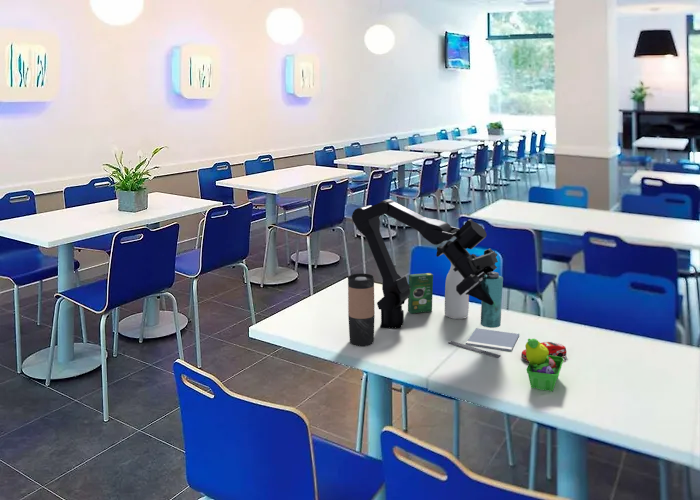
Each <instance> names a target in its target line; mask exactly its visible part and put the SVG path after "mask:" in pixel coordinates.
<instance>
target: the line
mask: <svg viewBox="0 0 700 500" xmlns="http://www.w3.org/2000/svg"><path fill="white" fill-rule="evenodd" d="M448 344H450V345H453V346H456V347H460V348H463V349H467V350H470V351H473V352H475V353H476V352H477V353H479V354H483V355H486V356H489V357H493V358H495V359H496V358H497V359H498V358H500V357H501V354H498V353H494V352H491V351H487V350H484V349H481V348H477V347H475V346H472V345H466V344H463V343H461V342H456V341H453V340H449V342H448Z"/></svg>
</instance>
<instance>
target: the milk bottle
mask: <svg viewBox="0 0 700 500" xmlns="http://www.w3.org/2000/svg"><path fill="white" fill-rule="evenodd" d="M454 268H455V267H454V266H453V264H452V263H451V262H450V269H449V270H448V273H447V274H446V278H445V287H444V316H445V317H448V318H450V319H454V320H460V319H466V318H467V317H469V307H470V305H469V304H470V303H469V301H470V295H466V293H467V292H468V290H467V291H465V293H463V294H462V295H459V293H458V292H457V291H456V286H457V285H458V284H459V283H460V282H462V280H463V279H464V278H463V276H462V275H461V274H460V273H459V272H458V271H456V272H455V271H454V270H453V269H454Z"/></svg>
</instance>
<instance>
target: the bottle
mask: <svg viewBox="0 0 700 500" xmlns="http://www.w3.org/2000/svg"><path fill="white" fill-rule="evenodd" d="M483 279H484V288H485V289H486V291H487V292H488V294H489V295H490V297H491V299H492V300H493V302H494V304H493V305H489V304H487V303H485V302H483V301H481V303H480V304H481V307H480V325H481V326H482V327H484V328H489V329H494V328H495V329H497V328H499V327H500V326H501V322H502V321H501V320H502V305H503V303H502V302H503V285H504V283H503V282H504V277H503V276H501V275H500V273H499V272H496V271H495V272H494V271H493V272H488V273H487V275H484V276H483ZM483 279H482V280H483Z"/></svg>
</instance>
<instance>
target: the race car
mask: <svg viewBox="0 0 700 500" xmlns="http://www.w3.org/2000/svg"><path fill="white" fill-rule="evenodd" d="M540 343H541V344H542V345H544V346H545V347H546V348H547V349H548V351H549V354H548V355H551V356H558V357H562V358H565V357H566V356H567V348H566V346H564V345H563V344H562V343H560V342H559V343H558V342H552V341H543V342H540ZM520 359H522V360H523V361H525V362H528V363H529V361H528V359H527V357H526V349H523V350H522V352H521V358H520Z"/></svg>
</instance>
